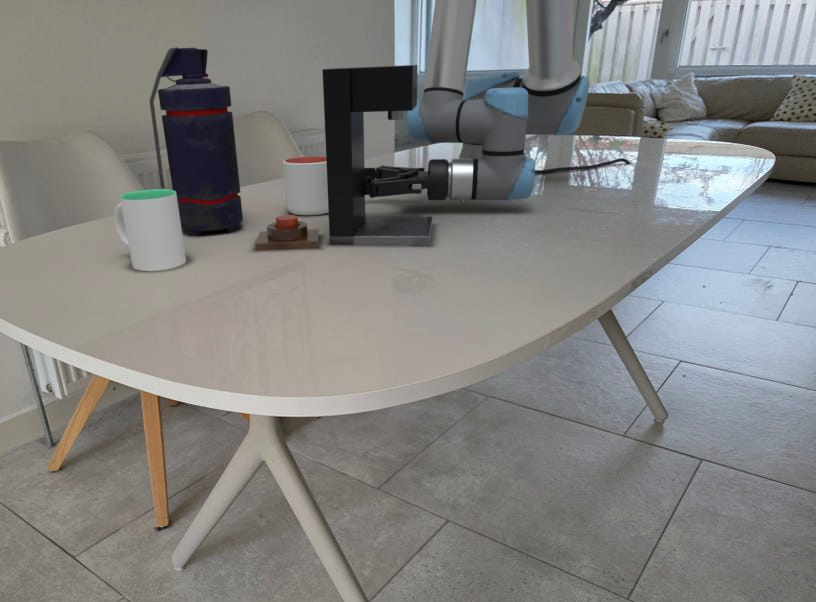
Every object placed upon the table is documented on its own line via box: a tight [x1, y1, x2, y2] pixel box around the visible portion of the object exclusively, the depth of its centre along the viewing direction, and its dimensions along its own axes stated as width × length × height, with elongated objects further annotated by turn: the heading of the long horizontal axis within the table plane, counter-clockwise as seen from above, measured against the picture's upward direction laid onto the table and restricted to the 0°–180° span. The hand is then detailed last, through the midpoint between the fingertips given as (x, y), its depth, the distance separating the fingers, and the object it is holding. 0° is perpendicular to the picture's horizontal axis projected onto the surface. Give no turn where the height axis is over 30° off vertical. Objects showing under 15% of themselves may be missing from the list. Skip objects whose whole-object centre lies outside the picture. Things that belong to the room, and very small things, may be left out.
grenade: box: [149, 46, 244, 237], centre depth 108 cm, size 14×12×30 cm
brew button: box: [275, 214, 299, 229], centre depth 102 cm, size 4×4×2 cm
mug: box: [113, 188, 187, 272], centre depth 94 cm, size 12×8×10 cm
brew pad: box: [254, 220, 320, 252], centre depth 102 cm, size 10×8×3 cm
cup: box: [282, 155, 329, 217], centre depth 123 cm, size 10×10×10 cm
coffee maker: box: [322, 64, 433, 247], centre depth 100 cm, size 16×14×26 cm
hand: (338, 181), depth 121 cm, fingers open, 13 cm apart
